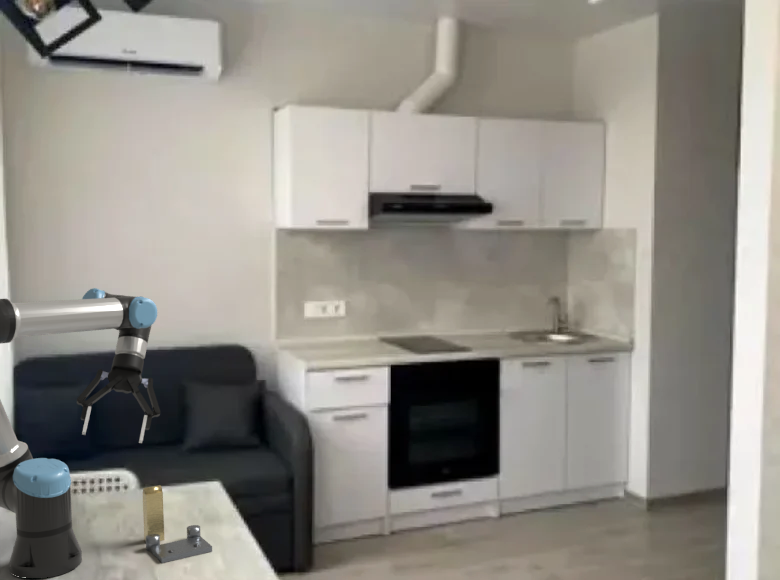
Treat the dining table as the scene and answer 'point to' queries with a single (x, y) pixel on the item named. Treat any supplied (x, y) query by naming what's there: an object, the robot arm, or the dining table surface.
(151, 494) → the brass rectangular post
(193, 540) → the fixed leaf
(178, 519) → the dining table surface
